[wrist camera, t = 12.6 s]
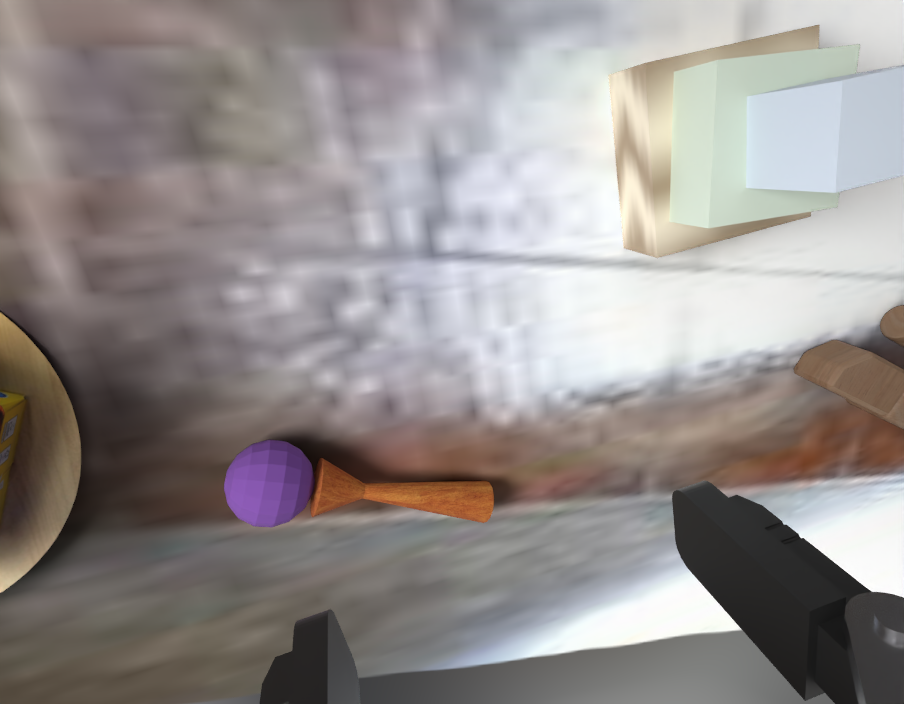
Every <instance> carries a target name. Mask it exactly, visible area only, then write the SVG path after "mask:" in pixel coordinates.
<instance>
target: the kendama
mask: <svg viewBox="0 0 904 704" xmlns="http://www.w3.org/2000/svg"><path fill="white" fill-rule="evenodd" d="M224 490H225V495H226V499H227V503H228V506H229V507H230V508H231V509H232V511H233V512H234V513H235V514H236V516H237V517H238V518H239V519H241V520H243V521H245V522H247V523H249V524H251V525H253V526H259V527H274V526H277V525H280V524H283V523H286V522H289V521H290V520H291V519H293V518H294V517H295V516H296V515H297V514H299V513H300V512H301V511H302V510H303V509H304V508H305V507H306V505H307V503H308V501H309V499H310V497H311V507H310V508H311V515H312V517H314V516H316V515H319V514H322V513H324V512H327V511H330V510H332V509H335V508H338V507H340V506H343V505H346V504H348V503H351V502H354V501H356V500H359V499H362V498H363V499H368V500H373V501H378V502H383V503H388V504H393V505H398V506H403V507H408V508H413V509H418V510H423V511H428V512H433V513H438V514H443V515H447V516H452V517H457V518H462V519H467V520H472V521H477V522H482V523H484V522H487V521H488V519H489V518H490V516H491V514H492V511H493V505H494V493H493V489H492V486H491V485H490V483H489V482H487V481H456V482H409V483H363V482H361V481H359V480H358V479H356V478H354V477H353V476H351V475H349V474H348V473H346V472H344V471H343V470H341V469H339V468H338V467H336V466H334V465H333V464H331V463H329V462H328V461H326V460H324V459H323V458H320V459H319V461H318V464H317V467H316V471H315V475H314V474H313V469H312V464H311V463H310V461H309V460H308V459H307V457H306V456H305V455H304V453H303V452H302V451H301V450H300V449H299V448H297V447H295V446H293V445H292V444H290V443H288V442H286V441H277V440H266V441H262V442H258V443H254V444H252V445H250V446H249V447H247V448H246V449H245V450H243V451H242V452H240V453H239V454H238V455H237V456H236V458H235V459H234V461H233V462H232V464H231V465H230V467H229V468H228V470H227V474H226V479H225V484H224Z"/></svg>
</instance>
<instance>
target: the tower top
mask: <svg viewBox="0 0 904 704" xmlns="http://www.w3.org/2000/svg"><path fill="white" fill-rule="evenodd" d="M859 49H860V44H858V45H848V46H839V47H830V48H821V49H812V50H803V51H794V52H784V53H775V54H766V55H757V56H748V57H739V58H730V59H720V60H715V61H712V62H708V63H704V64H701V65H697V66H693V67H690V68H686V69H682V70H679V71H675V72H674V83H673V116H672V150H671V184H670V218H669V222H674V223H679V224H685V225H691V226H697V227H703V228H714V227H720V226H726V225H732V224H739V223H745V222H751V221H757V220H763V219H769V218H775V217H781V216H787V215H794V214H800V213H806V212H812V211H818V210H824V209H830V208H836V207H837V206H838V198H839V192H837V193H828V192H809V191H791V190H772V189H754V188H746V145H747V96H751V95H756V94H760V93H765V92H769V91H774V90H778V89H783V88H787V87H791V86H796V85H800V84H805V83H809V82H814V81H818V80H823V79H828V78H833V77H839V76H845V75H850V74H856V70H857V63H858V56H859Z"/></svg>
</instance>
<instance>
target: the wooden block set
mask: <svg viewBox="0 0 904 704" xmlns="http://www.w3.org/2000/svg"><path fill="white" fill-rule="evenodd" d="M880 329H881V332H882V334H883V335H884V336H885V337H887V338H889V339H890V340H892V341H894V342H896V343H897V344H899V345H901V346H903V347H904V305H901V306H897V307H895V308H893V309H891V310H889V311H888V312H887V313H886V314H885V315H884V316H883V318H882V320H881V323H880ZM794 372H795V374H797V375H799V376H801V377H803V378H805V379H807V380H809V381H811V382H813V383H815V384H817V385H819V386H821V387H823V388H825V389H827V390H829V391H831V392H833V393H836V394H838V395H840V396H842V397H844V398H846V401H847V402H848V403H850V404H852V405H854V406H856V407H858V408H860V409H862V410H864V411H866V412H868V413H871V414H873V415H875V416H877V417H879V418H881V419H883V420H885V421H887V422H889V423H891V424H893V425H895V426H897V427H899V428H901V429H903V430H904V369H902V368H900V367H898V366H896V365H894V364H893V363H891V362H889V361H887V360H885V359H883V358H882V357H880V356H878V355H876V354H874V353H872V352H870V351H867V350H864V349H861V348H858V347H856V346H853V345H850V344H847V343H844V342H841V341H839V340H831V341H829V342H827V343H824V344H822V345H820V346H817V347H815V348H813V349H810V350H808V351H806V352H805V353H804V354H803V355H802V357H801V358H800V360H799V361H798V363H797V364H796V366H795V368H794Z"/></svg>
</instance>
